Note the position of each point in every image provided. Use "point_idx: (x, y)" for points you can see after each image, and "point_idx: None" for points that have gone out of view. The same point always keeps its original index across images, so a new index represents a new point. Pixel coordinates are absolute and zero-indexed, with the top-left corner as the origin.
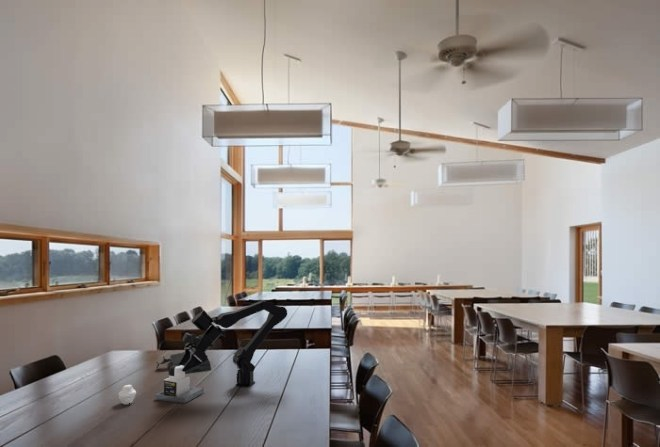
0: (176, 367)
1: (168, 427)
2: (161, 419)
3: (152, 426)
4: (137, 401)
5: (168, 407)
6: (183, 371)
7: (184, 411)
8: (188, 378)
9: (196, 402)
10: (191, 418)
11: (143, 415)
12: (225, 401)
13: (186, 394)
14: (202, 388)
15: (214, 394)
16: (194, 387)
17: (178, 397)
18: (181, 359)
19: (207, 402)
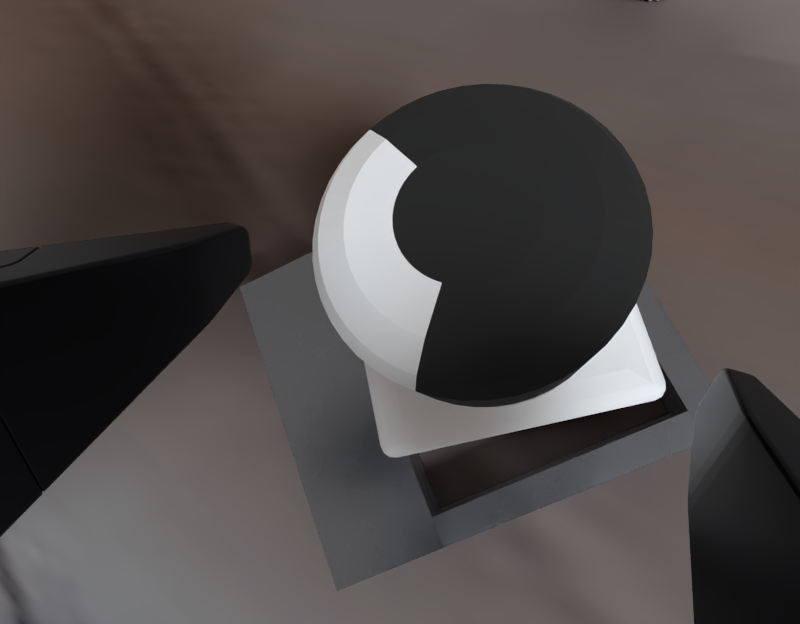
0: (365, 158)
1: (30, 60)
2: (146, 66)
3: (107, 5)
4: (630, 41)
5: (287, 170)
6: (236, 256)
7: (132, 216)
8: (378, 427)
9: (202, 369)
10: (14, 195)
11: (291, 6)
12: (28, 544)
13: (306, 339)
14: (336, 571)
15: (235, 618)
16: (447, 536)
17: (308, 256)
18: (795, 474)
19: (131, 430)
